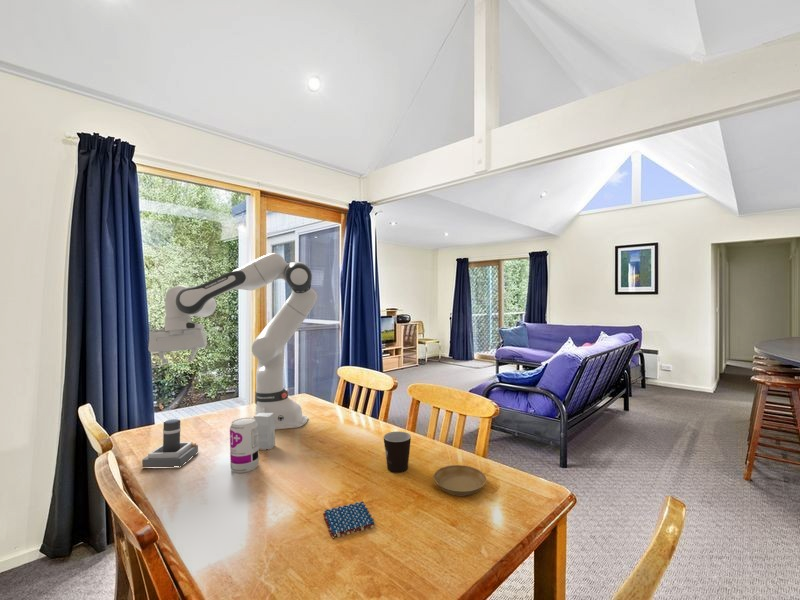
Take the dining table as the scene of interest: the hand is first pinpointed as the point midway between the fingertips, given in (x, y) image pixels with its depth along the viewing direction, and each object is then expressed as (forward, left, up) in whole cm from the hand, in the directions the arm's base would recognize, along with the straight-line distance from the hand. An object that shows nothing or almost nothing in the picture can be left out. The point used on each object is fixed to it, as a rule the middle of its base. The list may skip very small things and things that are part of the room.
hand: (178, 362), depth 144 cm
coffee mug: (-84, +29, -30) cm, 94 cm away
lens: (-8, +20, -27) cm, 34 cm away
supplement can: (-35, +27, -30) cm, 54 cm away
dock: (-8, +20, -30) cm, 37 cm away
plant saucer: (-101, +42, -30) cm, 114 cm away
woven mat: (-71, +57, -30) cm, 96 cm away
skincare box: (-36, +11, -30) cm, 48 cm away
